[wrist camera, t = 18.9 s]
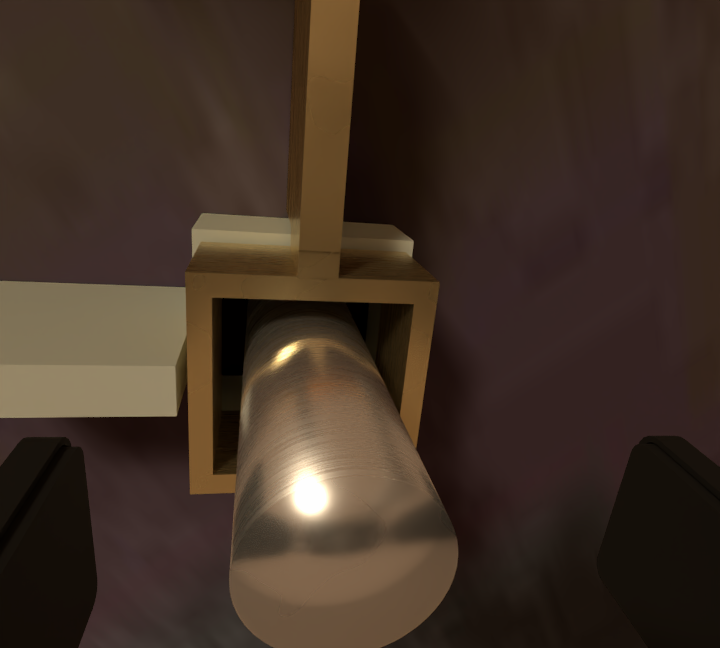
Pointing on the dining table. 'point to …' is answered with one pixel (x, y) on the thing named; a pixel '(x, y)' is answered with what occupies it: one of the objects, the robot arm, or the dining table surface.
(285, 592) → the pin
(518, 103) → the dining table surface
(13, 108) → the dining table surface
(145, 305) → the loose leaf
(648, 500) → the robot arm
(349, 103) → the fixed leaf
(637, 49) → the dining table surface
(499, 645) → the dining table surface
